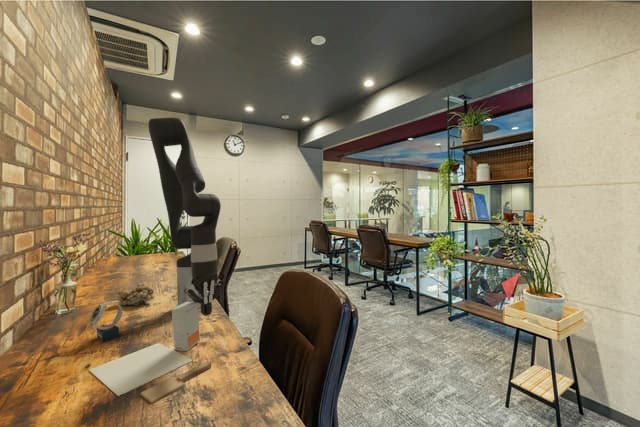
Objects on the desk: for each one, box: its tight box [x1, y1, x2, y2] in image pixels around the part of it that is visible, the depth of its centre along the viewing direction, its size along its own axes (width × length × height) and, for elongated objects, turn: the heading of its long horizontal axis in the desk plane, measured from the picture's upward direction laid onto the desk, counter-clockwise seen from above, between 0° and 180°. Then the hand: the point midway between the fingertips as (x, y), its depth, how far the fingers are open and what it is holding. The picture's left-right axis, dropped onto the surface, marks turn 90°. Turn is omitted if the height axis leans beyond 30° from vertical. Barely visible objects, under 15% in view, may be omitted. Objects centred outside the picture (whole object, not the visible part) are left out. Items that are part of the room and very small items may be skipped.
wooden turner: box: [140, 360, 212, 404], centre depth 67 cm, size 15×5×1 cm, turn 145°
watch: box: [90, 301, 124, 343], centre depth 90 cm, size 6×8×11 cm
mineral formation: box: [116, 282, 155, 307], centre depth 123 cm, size 8×13×15 cm
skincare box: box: [171, 302, 201, 352], centre depth 83 cm, size 6×4×12 cm
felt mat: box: [88, 342, 193, 397], centre depth 74 cm, size 17×18×1 cm
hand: (206, 314), depth 88 cm, fingers closed
